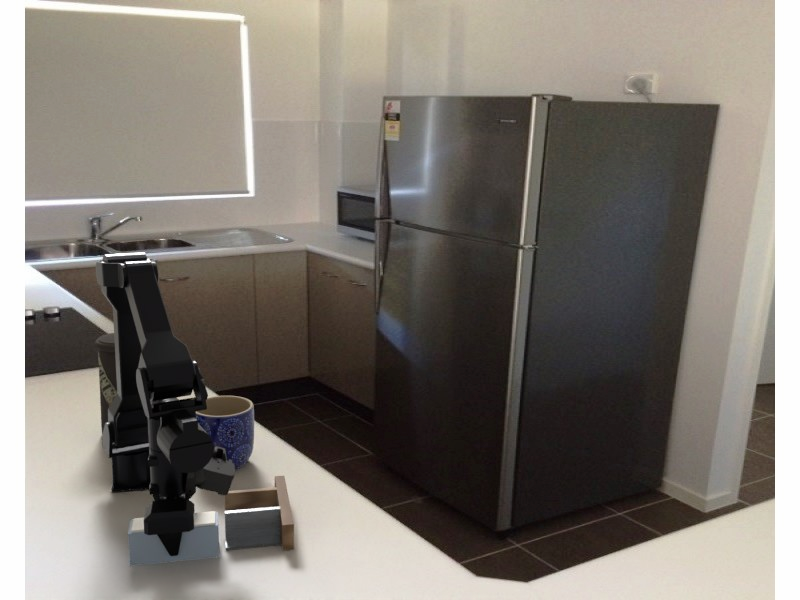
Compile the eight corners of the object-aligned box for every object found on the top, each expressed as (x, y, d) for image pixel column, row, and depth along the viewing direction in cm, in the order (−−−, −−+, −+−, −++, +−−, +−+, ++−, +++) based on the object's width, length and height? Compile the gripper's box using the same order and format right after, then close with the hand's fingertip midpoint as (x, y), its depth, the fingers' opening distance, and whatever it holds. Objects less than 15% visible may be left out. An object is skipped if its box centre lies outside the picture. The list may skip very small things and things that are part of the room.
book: (129, 566, 105) (127, 531, 104) (132, 551, 109) (130, 517, 108) (219, 557, 108) (218, 523, 107) (218, 542, 111) (217, 509, 110)
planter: (242, 480, 131) (240, 419, 129) (182, 474, 133) (180, 413, 130) (263, 454, 142) (262, 397, 139) (207, 449, 143) (206, 393, 141)
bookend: (225, 550, 109) (225, 521, 108) (225, 538, 112) (224, 510, 111) (281, 544, 111) (281, 516, 110) (280, 533, 114) (279, 506, 113)
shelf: (225, 556, 108) (225, 530, 107) (224, 502, 123) (224, 480, 122) (293, 549, 110) (293, 524, 109) (284, 497, 125) (284, 475, 124)
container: (90, 436, 148) (84, 337, 143) (123, 421, 156) (118, 326, 151) (126, 444, 144) (120, 343, 140) (157, 428, 153) (153, 332, 148)
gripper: (231, 469, 98) (234, 578, 101) (229, 416, 115) (232, 510, 119) (140, 475, 95) (146, 587, 98) (152, 420, 113) (157, 516, 116)
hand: (175, 547), depth 108 cm, fingers closed on book, 4 cm apart
